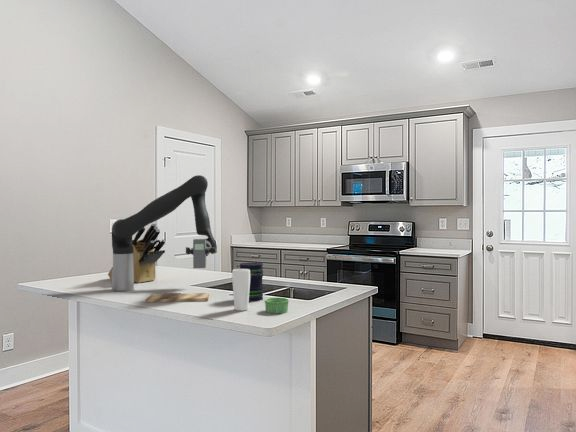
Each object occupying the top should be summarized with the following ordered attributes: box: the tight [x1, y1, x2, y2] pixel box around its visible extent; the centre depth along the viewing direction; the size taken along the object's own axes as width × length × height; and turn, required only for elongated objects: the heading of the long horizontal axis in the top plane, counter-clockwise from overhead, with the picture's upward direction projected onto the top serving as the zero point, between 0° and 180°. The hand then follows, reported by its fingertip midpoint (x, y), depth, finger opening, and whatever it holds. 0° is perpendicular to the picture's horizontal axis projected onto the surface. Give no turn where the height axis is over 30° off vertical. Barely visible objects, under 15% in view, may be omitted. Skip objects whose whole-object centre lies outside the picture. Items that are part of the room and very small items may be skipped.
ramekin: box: [264, 297, 290, 314], centre depth 169 cm, size 9×9×4 cm
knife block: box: [107, 222, 166, 284], centre depth 244 cm, size 11×35×31 cm, turn 57°
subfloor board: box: [145, 292, 211, 303], centre depth 193 cm, size 25×12×1 cm, turn 95°
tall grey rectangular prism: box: [192, 238, 207, 269], centre depth 194 cm, size 5×5×12 cm
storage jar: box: [239, 262, 264, 302], centre depth 192 cm, size 10×10×15 cm
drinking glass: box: [231, 268, 250, 312], centre depth 171 cm, size 7×7×15 cm
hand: (199, 252), depth 191 cm, fingers closed on tall grey rectangular prism, 5 cm apart
